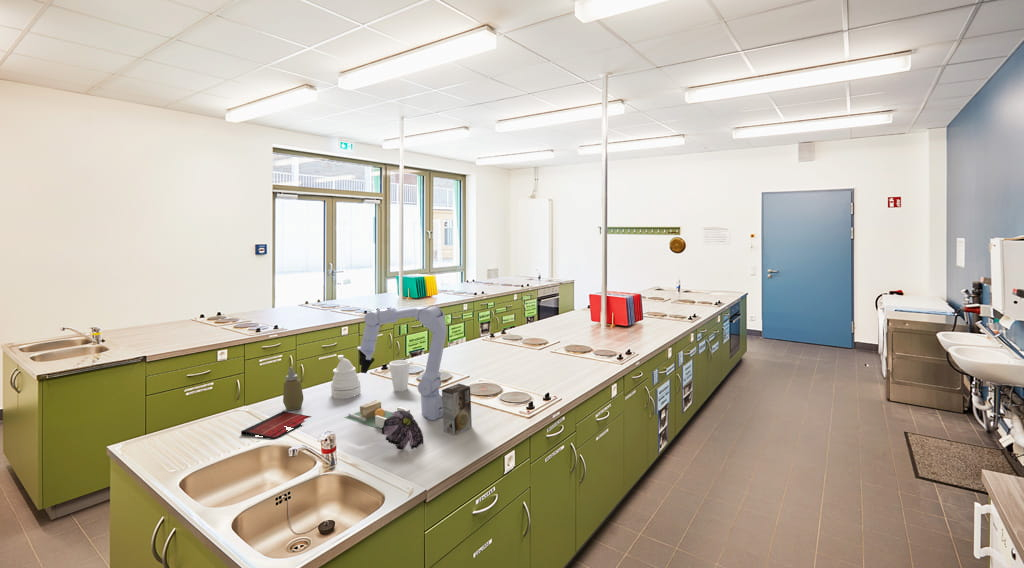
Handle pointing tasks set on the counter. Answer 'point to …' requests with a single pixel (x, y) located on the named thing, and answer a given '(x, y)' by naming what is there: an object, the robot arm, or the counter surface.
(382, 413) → the ball
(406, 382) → the foam cup
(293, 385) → the squeeze bottle
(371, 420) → the pitch mat
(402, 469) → the counter surface
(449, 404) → the coffee box
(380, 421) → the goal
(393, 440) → the decorative flower
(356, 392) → the honey pot
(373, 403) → the block
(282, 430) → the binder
